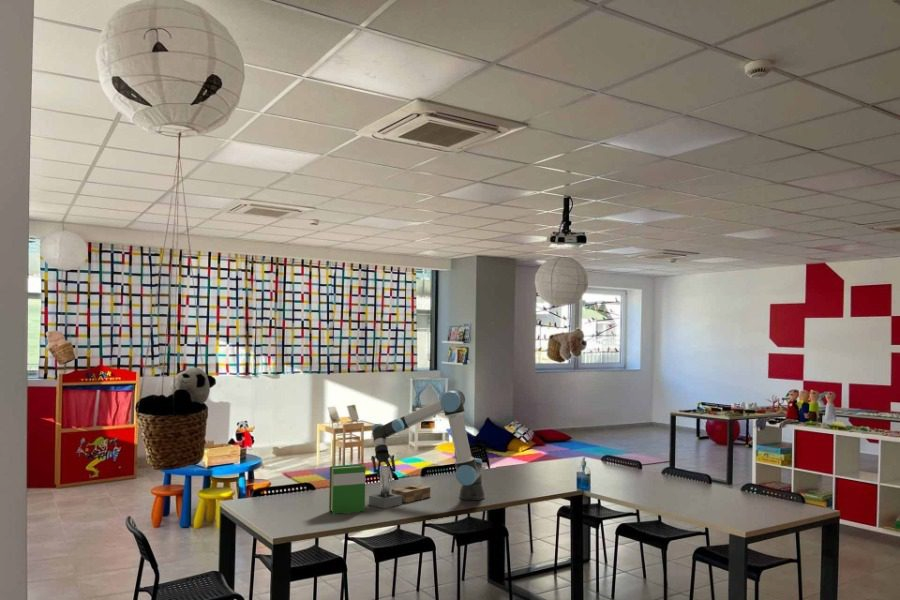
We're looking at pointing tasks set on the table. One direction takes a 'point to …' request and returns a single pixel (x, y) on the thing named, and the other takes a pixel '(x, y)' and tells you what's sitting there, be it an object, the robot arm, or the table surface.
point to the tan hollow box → (412, 492)
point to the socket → (385, 500)
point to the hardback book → (347, 489)
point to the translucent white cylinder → (385, 481)
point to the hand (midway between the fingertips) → (386, 481)
